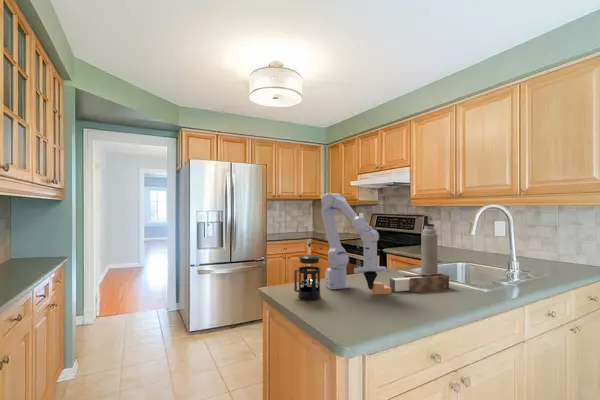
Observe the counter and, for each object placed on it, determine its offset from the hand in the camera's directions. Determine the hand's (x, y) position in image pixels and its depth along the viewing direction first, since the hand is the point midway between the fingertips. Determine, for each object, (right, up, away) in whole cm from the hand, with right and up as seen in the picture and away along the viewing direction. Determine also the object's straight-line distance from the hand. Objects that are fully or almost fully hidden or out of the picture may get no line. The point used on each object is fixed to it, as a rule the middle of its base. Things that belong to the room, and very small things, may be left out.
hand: (370, 288), depth 133 cm
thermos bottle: (+39, -2, +31) cm, 50 cm away
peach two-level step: (+5, -2, +1) cm, 5 cm away
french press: (-27, -2, -6) cm, 28 cm away
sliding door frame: (+27, -2, +7) cm, 28 cm away
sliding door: (+18, -2, +4) cm, 18 cm away
